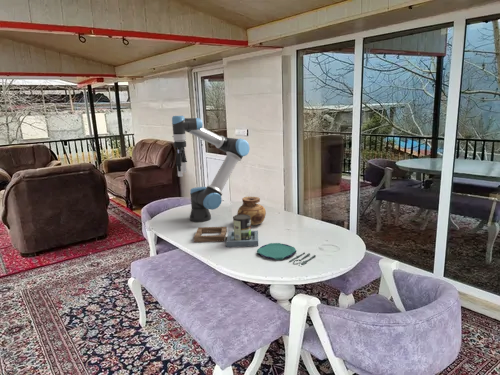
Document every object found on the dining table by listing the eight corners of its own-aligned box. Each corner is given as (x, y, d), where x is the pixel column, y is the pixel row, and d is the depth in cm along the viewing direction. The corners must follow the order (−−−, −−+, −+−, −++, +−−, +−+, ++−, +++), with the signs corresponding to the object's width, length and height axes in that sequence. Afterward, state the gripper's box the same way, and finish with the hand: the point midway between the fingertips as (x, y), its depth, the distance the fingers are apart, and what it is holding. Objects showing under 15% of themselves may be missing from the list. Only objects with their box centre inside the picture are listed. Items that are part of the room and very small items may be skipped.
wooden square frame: (198, 231, 237) (198, 227, 236) (226, 231, 236) (226, 226, 236) (194, 242, 219) (193, 237, 218) (224, 241, 219) (224, 236, 218)
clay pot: (274, 218, 248) (265, 194, 240) (254, 234, 240) (244, 209, 231) (256, 212, 263) (247, 189, 255) (237, 227, 255) (227, 203, 246)
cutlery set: (273, 243, 213) (273, 239, 212) (318, 257, 193) (318, 252, 193) (250, 255, 198) (250, 251, 198) (297, 270, 179) (297, 266, 178)
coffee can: (252, 236, 222) (252, 214, 219) (249, 243, 212) (248, 219, 209) (236, 236, 224) (235, 213, 221) (232, 242, 214) (230, 219, 211)
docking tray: (228, 235, 227) (228, 231, 227) (258, 235, 227) (257, 230, 226) (226, 246, 210) (226, 241, 209) (258, 246, 209) (258, 241, 209)
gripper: (177, 139, 242) (180, 171, 247) (169, 143, 218) (172, 178, 222) (189, 138, 242) (191, 170, 247) (181, 142, 218) (184, 178, 222)
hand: (182, 174), depth 235 cm, fingers open, 13 cm apart
